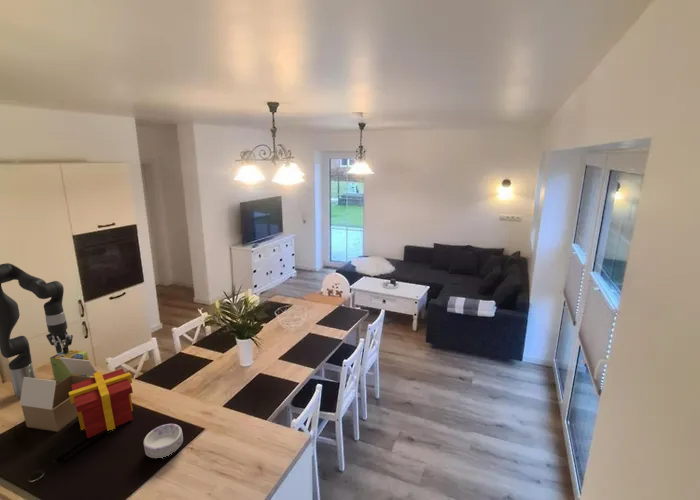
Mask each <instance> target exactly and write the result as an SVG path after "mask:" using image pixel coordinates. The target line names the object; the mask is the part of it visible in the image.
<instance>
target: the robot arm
mask: <svg viewBox="0 0 700 500" xmlns="http://www.w3.org/2000/svg"><path fill="white" fill-rule="evenodd" d="M14 280H15V281H17V282H18V285H19V286H20V288H22V289H23V290H26V291H28V292H31V293H33V294H34V295H35V296H36V297H37V298H38V299H39V300H46V299H49V298H50V300H48V301H46V302H45V303H44V304H43V309H44V315H45V323H46V327H47V331H48V333H47V334H46V335H45V337H46V339H47V341H48V342H49V344H50V345H51V346H54V348H55V351H56V354H59V353H61V352H62V351H63V354H67V353H68V352H69V350H70V349H69V346H71V345H72V343H73V338H74V335H73V334H68V333H69V332H67V330H68V322H67V318H66V314H65V312H64V311H65V310H64V307H63V298H64V291H65V290H64V285H63V284H62V282H60V281H58V280H53V281H50V282H46V281H45V279H42V278H40V277H37V276H34V275H31V274H29V273H27V272H26V271H24V270H22V269H21V268H19V267H17V266H16V265H14V264H13V263H9V262H8V263H7V262H5V263H1V264H0V354H1V355H2V357H3V358H4V359H10V358H12V357H15V356H16V357H15V358H13V359H12V360H10V361H9V363H8V369H9V372H10V373H9V374H10V377H11V385H12V388H13V391H14V395H15V397H16V396H17V397H19V398H18V399H21V392H22V385H23V378H24V377H29V378H36V373H35V370H34V366H33V360H32V354H31V350H30V343H29V341H28V338H27V337H26V336H24V335H18V336H16V337H14V338H11V333H12V332H13V329H14V328H15V326H16V325H17V323H18V321H19V318H20V315H21V314H20V310H19V305H18V302H17V301H15V300H14V299H13V298H12V297H10V296H9V295H8V294H6V293H5V292H4V290H3V288H2V287H3V286H2V284H5V283H8V282H11V281H14ZM17 397H16V398H17Z"/></svg>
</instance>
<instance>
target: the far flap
mask: <svg viewBox="0 0 700 500" xmlns="http://www.w3.org/2000/svg"><path fill="white" fill-rule="evenodd" d="M60 359H61V361H62V362H63V363H64V365H65V366H66V367H67V368H68V370H69V371H70V372H71V374H78V375H87V376H89V377H94V374H93V373H96V372H98V371H97V369H96V368H95V366H94V365H93V363H92V362H91V360H90V359H89V360H81V359H72V358H63V357H60Z"/></svg>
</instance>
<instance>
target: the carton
mask: <svg viewBox="0 0 700 500" xmlns="http://www.w3.org/2000/svg"><path fill="white" fill-rule="evenodd" d="M91 378H94V376H89V377H85V376H77V375H70V376H69V377H67V378H65V379H64V380H62V381H60V382H56V386H55V393H54V401H53V408H52V409H44V408H37V407H30V406H23V405H20V406H21V409H22V414H23V417H24V421H25V425H26V427H27V428H30V429H31V428H32V429H39V430H43V431H44V430H46V431H51V432H56V433H58V432H60V431H61V430H63V429H64V428H65V427H66V426H68V425H69V424H70V423H72V422H73V421H75V419H77V418H78V414H77V409H76V404H75V403H73V404H71V401H70V397H69V392H70V391H73V390H72V386H71V385H72V384H75V383H78V382H82V381H85V380H88V379H91ZM67 424H68V425H67Z"/></svg>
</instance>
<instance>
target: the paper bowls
mask: <svg viewBox="0 0 700 500" xmlns="http://www.w3.org/2000/svg"><path fill="white" fill-rule="evenodd" d="M183 435H184V434H183V430H182V427H181V426H180V425H178V424H176V423H167V424H166V423H165V424H162V425H159V426H157V427H155V428H153V429H151V431H150V432H148V433H147V434H146V436H145V437H144V439H143V448H144V452H145V455H146V456H147V457H149V458H151V459H157V458H162V459H164V458H163V457H166V456H168V457H170V456H171V455H173V454H174V453H175V452H176V451H177V450H178V449H179V448H180V447H181V446H182V444H183V442H184V436H183ZM173 452H174V453H173ZM172 453H173V454H172ZM170 454H171V455H170ZM169 455H170V456H169ZM166 458H167V457H166Z"/></svg>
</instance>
